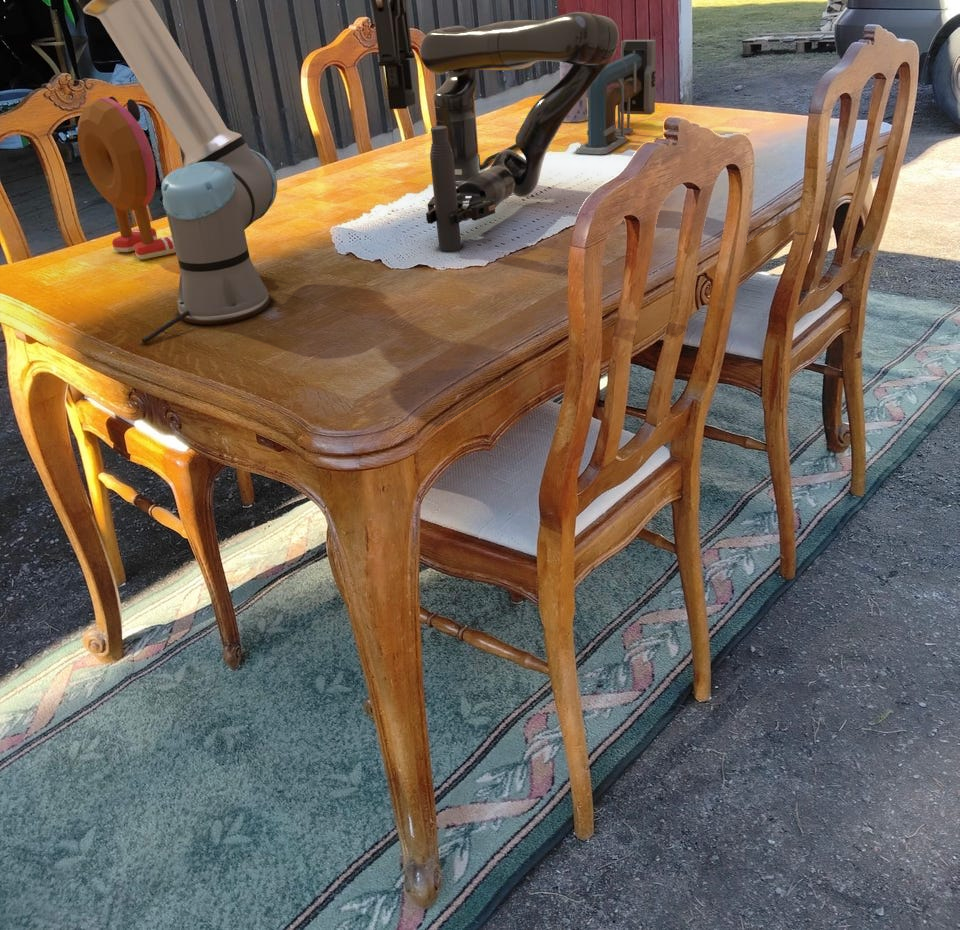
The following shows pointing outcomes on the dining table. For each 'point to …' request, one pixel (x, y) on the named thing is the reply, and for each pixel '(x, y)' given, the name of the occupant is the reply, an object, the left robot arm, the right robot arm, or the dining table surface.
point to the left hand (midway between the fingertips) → (401, 105)
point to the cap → (410, 97)
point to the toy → (122, 171)
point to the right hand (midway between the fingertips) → (440, 219)
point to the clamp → (620, 96)
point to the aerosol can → (580, 108)
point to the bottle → (444, 189)
